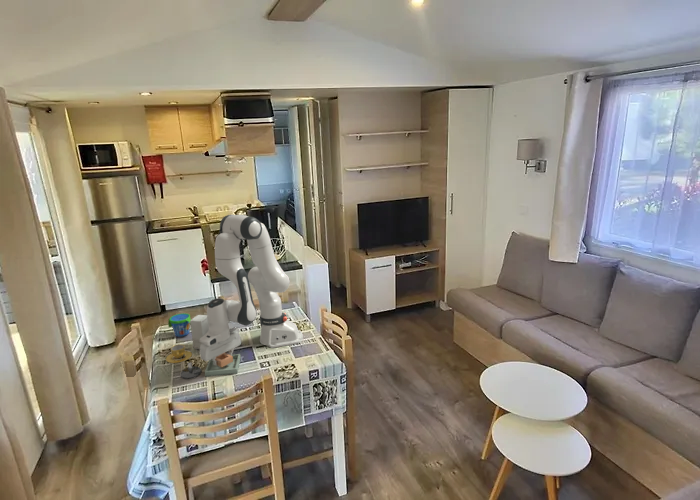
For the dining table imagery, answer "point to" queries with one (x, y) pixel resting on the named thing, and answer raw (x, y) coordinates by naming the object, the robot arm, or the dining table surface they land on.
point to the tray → (225, 370)
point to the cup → (178, 354)
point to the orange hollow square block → (224, 359)
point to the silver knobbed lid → (190, 372)
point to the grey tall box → (199, 329)
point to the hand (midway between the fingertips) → (222, 361)
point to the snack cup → (180, 324)
